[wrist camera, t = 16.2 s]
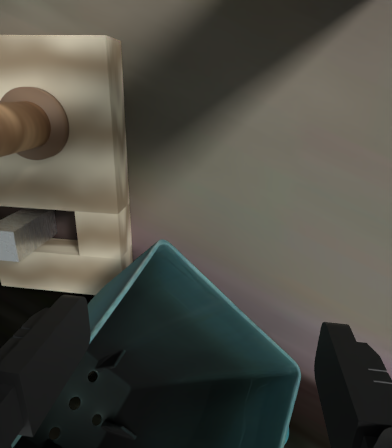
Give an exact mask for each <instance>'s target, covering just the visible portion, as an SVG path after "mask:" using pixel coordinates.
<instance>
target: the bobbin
mask: <svg viewBox="0 0 392 448" xmlns="http://www.w3.org/2000/svg"><path fill="white" fill-rule="evenodd" d="M68 137H69V121H68V118H67V115H66V112H65V110H64V108H63V106H62V105H61V104H60V102H59V101H58V100H57V99H56V98H55V97H54V96H53V95H52V94H50V93H49V92H47V91H45V90H43V89H40V88H36V87H17V88H14V89H11V90H10V91H8V92H7V93H6V94H5V95H4V96H3V97H2V99H1V100H0V157H3V156H6V155H10V154H14V153H17V154H18V155H20V156H22V157H24V158H26V159H30V160H43V159H46V158H49V157H52V156H55V155H57V154H58V153H59V152H60V151H61V150H62V149H63V148H64V147H65V145H66V143H67V140H68Z"/></svg>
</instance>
